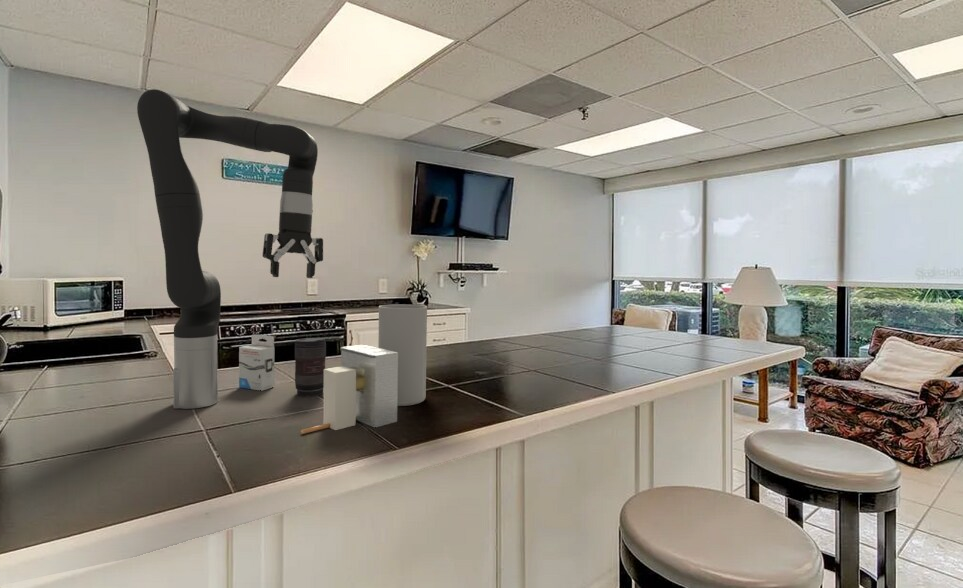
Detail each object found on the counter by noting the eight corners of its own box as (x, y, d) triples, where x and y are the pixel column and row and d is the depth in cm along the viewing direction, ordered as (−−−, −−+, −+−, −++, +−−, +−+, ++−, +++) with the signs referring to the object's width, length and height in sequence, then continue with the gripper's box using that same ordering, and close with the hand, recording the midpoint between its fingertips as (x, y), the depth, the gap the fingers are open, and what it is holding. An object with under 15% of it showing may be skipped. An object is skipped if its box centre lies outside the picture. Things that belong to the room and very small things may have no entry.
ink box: (238, 388, 136) (237, 336, 135) (251, 384, 140) (251, 334, 139) (262, 391, 133) (261, 338, 132) (275, 387, 137) (275, 336, 137)
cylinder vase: (368, 399, 127) (369, 305, 125) (405, 391, 136) (407, 303, 135) (397, 410, 118) (398, 309, 117) (435, 400, 127) (436, 307, 126)
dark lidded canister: (330, 390, 135) (330, 337, 135) (318, 397, 127) (318, 342, 127) (303, 388, 136) (303, 336, 135) (289, 396, 128) (289, 340, 127)
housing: (372, 428, 105) (373, 355, 104) (338, 413, 114) (339, 347, 113) (397, 421, 110) (397, 352, 109) (362, 408, 119) (363, 344, 118)
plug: (306, 437, 98) (306, 377, 98) (295, 431, 102) (295, 373, 101) (392, 415, 114) (392, 363, 113) (379, 410, 117) (380, 360, 117)
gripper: (317, 215, 126) (313, 277, 127) (260, 208, 116) (257, 275, 118) (330, 215, 121) (326, 279, 122) (272, 208, 111) (268, 277, 112)
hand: (292, 277), depth 120 cm, fingers open, 8 cm apart
